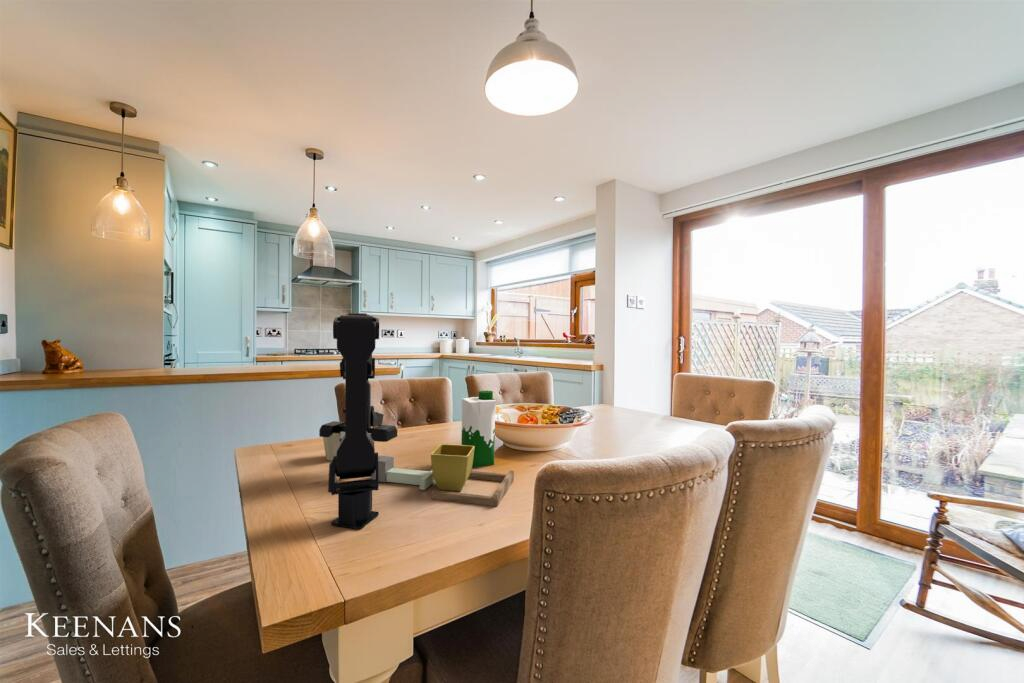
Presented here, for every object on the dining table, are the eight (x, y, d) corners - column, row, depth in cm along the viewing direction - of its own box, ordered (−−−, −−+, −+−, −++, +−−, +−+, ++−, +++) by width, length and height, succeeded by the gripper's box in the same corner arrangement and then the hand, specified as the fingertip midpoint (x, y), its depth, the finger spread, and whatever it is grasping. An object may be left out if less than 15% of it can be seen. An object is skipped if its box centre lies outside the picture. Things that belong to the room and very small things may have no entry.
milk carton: (498, 465, 114) (499, 393, 113) (467, 469, 110) (468, 395, 110) (486, 456, 122) (487, 389, 121) (457, 459, 118) (458, 390, 118)
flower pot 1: (322, 454, 121) (322, 425, 121) (356, 452, 124) (356, 423, 124) (317, 464, 112) (317, 433, 112) (354, 461, 115) (354, 431, 115)
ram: (424, 490, 95) (424, 468, 95) (365, 483, 98) (365, 462, 98) (438, 478, 103) (438, 458, 102) (383, 472, 106) (383, 453, 106)
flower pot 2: (474, 481, 101) (475, 445, 101) (467, 495, 93) (468, 455, 92) (440, 479, 102) (440, 443, 102) (429, 493, 94) (429, 454, 93)
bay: (497, 506, 87) (497, 494, 87) (431, 498, 90) (431, 487, 90) (513, 480, 102) (513, 470, 102) (456, 475, 105) (456, 465, 105)
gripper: (407, 400, 108) (407, 458, 109) (345, 396, 113) (345, 453, 113) (385, 407, 98) (385, 472, 98) (317, 403, 102) (317, 465, 102)
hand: (358, 465), depth 103 cm, fingers closed
